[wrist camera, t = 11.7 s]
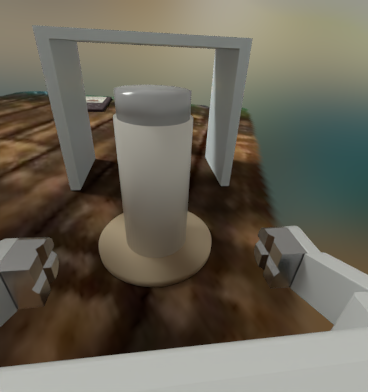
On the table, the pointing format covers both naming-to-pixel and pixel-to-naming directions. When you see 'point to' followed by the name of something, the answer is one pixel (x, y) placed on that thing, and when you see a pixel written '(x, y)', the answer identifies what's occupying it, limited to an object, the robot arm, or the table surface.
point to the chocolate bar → (97, 103)
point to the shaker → (154, 165)
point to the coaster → (154, 267)
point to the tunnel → (68, 37)
